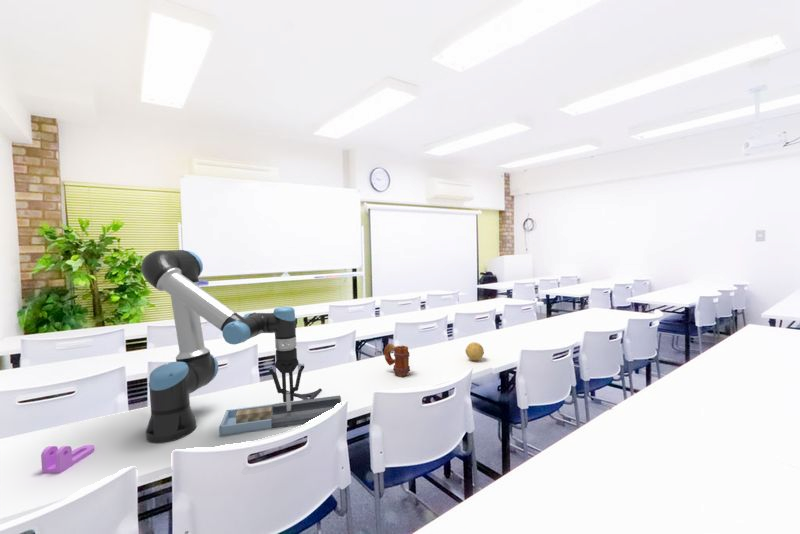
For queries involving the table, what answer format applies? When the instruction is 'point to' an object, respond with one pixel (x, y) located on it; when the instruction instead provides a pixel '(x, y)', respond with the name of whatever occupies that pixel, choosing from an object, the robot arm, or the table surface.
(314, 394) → the bracket
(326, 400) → the slot bed
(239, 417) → the wooden cube
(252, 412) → the wooden cube
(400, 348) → the mug
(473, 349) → the stress ball
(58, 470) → the bracket
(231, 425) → the tray
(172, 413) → the robot arm
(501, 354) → the table surface
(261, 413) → the wooden cube
